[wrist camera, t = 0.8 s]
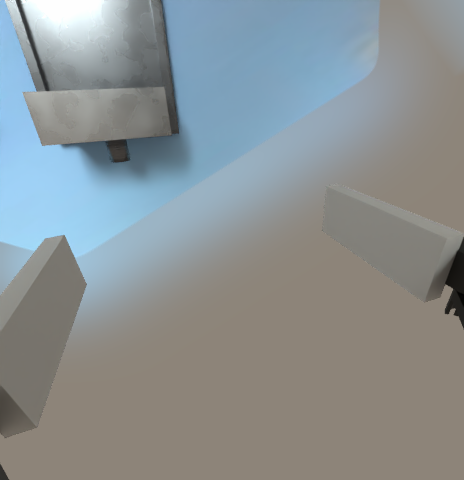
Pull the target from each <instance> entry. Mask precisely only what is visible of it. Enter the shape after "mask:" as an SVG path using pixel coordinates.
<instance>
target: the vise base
mask: <svg viewBox="0 0 464 480" xmlns="http://www.w3.org/2000/svg"><path fill="white" fill-rule="evenodd" d="M5 2H6V4H7V7H8V10H9V13H10V16H11V19H12V22H13V25H14V27H15V30H16V33H17V36H18V39H19V42H20V45H21V47H22V50H23V53H24V56H25V59H26V62H27V65H28V68H29V70H30V73H31V76H32V79H33V82H34V85H35V88H36V90H37V92H40V91H67V90H94V89H121V88H148V87H164V88H165V94H166V101H167V108H168V115H169V121H170V128H171V134H175V133H179V130H178V122H177V115H176V107H175V100H174V93H173V85H172V78H171V70H170V63H169V56H168V48H167V41H166V33H165V26H164V19H163V11H162V4H161V0H5Z"/></svg>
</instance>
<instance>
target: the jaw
mask: <svg viewBox="0 0 464 480" xmlns="http://www.w3.org/2000/svg"><path fill="white" fill-rule="evenodd" d="M23 95H24V98H25V101H26V103H27V106H28V109H29V111H30V114H31V117H32V119H33V122H34V125H35V127H36V130H37V133H38V136H39V138H40V141H41V144H42V146H45V145H57V144H70V143H82V142H95V141H106V145H107V149H108V153H109V157H110V160H111V162H124V161H129V160H130V155H129V151H128V146H127V142H126V139H132V138H145V137H157V136H170V135H171V128H170V121H169V115H168V108H167V101H166V94H165V88H164V87H148V88H121V89H94V90H67V91H40V92H23Z"/></svg>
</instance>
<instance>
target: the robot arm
mask: <svg viewBox="0 0 464 480" xmlns="http://www.w3.org/2000/svg"><path fill="white" fill-rule="evenodd" d="M322 231H323V232H325V233H326V234H327V235H329V236H330V237H331V238H333V239H334V240H336V241H337V242H339V243H340V244H341V245H343V246H344V247H346V248H347V249H349V250H350V251H352V252H353V253H354V254H356V255H357V256H359V257H360V258H362V259H363V260H364V261H366V262H367V263H368V264H370V265H371V266H373V267H374V268H376V269H377V270H378V271H380V272H381V273H383V274H384V275H386V276H387V277H388V278H390V279H391V280H393V281H394V282H396V283H397V284H399V285H400V286H401V287H403V288H404V289H406V290H407V291H408V292H410V293H411V294H413V295H414V296H415V297H417V298H419V299H420V300H421V301H423V302H428V301H430V300H434V299H437V298H440V297H441V294H442V291H443V289H444V286H445V284H446V285H448V286H450V287H451V288H453V291H452V294H451V296H450V299H449V301H448V303H447V306H446V308H445V314H449V312H450V310H451V309H452V308H455V309H456V310H455V313H454V315H455V316H459V318H460V321H461V323H462V326H463V328H464V233H462V232H459V231H456V230H454V229H452V228H449V227H446V226H444V225H442V224H439V223H436V222H434V221H431V220H429V219H426V218H423V217H421V216H419V215H416V214H414V213H411V212H409V211H406V210H404V209H401V208H399V207H396V206H393V205H391V204H388V203H386V202H383V201H381V200H378V199H376V198H373V197H371V196H368V195H366V194H363V193H360V192H358V191H355V190H353V189H350V188H348V187H345V186H343V185H340V184H335V185H329V186H326V194H325V205H324V216H323V227H322ZM86 285H87V284H86V282H85V280H84V277H83V275H82V273H81V271H80V268H79V266H78V264H77V262H76V260H75V257H74V255H73V253H72V251H71V249H70V246H69V244H68V242H67V240H66V237H65V235H62V236H56V237H51V238H46V239H44V241H43V242H42V243H41V245H40V246H39V247H38V248H37V250H36V251H35V252H34V253H33V255H32V256H31V257H30V259H29V260H28V261H27V263H26V264H25V265H24V266H23V268H22V269H21V270H20V271H19V273H18V274H17V275H16V276H15V278H14V279H13V280H12V282H11V283H10V284H9V285H8V286H7V288H6V289H5V290H4V292H3V293H2V294H1V295H0V433H1V434H2V435H3V436H4V437H5V438H7V437H10V436H12V435H16V434H19V433H22V432H25V431H28V430H31V429H34V428H37V427H38V424H39V421H40V418H41V415H42V412H43V409H44V406H45V403H46V401H47V398H48V395H49V392H50V389H51V386H52V383H53V380H54V377H55V375H56V372H57V369H58V366H59V363H60V360H61V357H62V354H63V352H64V349H65V346H66V342H67V340H68V337H69V334H70V331H71V328H72V326H73V323H74V320H75V317H76V314H77V311H78V308H79V305H80V302H81V299H82V297H83V294H84V290H85V288H86ZM0 480H9V479H8V477H7V475H6V473H5V472H4V470H3V468H2V466H1V465H0Z"/></svg>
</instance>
